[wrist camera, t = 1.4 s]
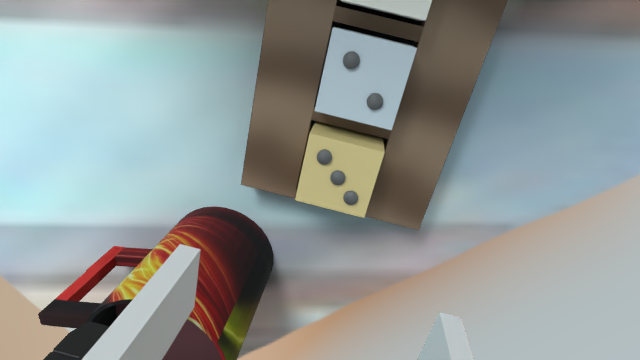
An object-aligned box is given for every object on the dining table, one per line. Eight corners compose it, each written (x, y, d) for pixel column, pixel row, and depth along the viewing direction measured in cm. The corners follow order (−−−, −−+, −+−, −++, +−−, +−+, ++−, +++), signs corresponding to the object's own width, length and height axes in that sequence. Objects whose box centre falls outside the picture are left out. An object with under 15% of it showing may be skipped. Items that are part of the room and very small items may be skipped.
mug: (118, 240, 36) (6, 338, 25) (240, 191, 32) (173, 279, 21) (173, 316, 39) (95, 433, 28) (291, 278, 35) (255, 396, 24)
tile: (316, 120, 27) (309, 134, 24) (382, 136, 27) (384, 153, 24) (302, 180, 29) (294, 201, 26) (364, 196, 29) (364, 219, 26)
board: (296, -120, 23) (288, -136, 21) (520, -67, 23) (537, -77, 20) (250, 172, 31) (241, 184, 29) (414, 214, 31) (418, 230, 28)
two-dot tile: (337, 26, 25) (332, 27, 21) (410, 44, 25) (417, 48, 21) (321, 100, 27) (314, 111, 23) (388, 117, 27) (391, 131, 23)
